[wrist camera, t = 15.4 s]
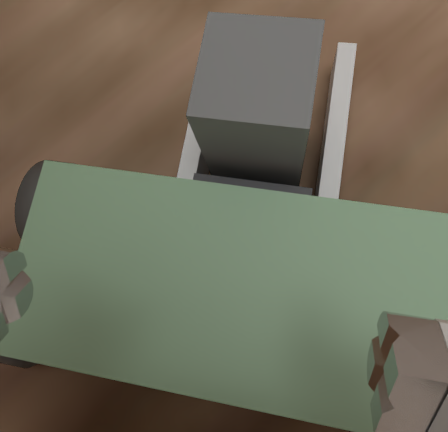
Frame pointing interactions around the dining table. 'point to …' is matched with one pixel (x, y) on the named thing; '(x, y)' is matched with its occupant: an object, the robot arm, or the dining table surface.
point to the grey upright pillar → (255, 95)
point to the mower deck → (223, 278)
